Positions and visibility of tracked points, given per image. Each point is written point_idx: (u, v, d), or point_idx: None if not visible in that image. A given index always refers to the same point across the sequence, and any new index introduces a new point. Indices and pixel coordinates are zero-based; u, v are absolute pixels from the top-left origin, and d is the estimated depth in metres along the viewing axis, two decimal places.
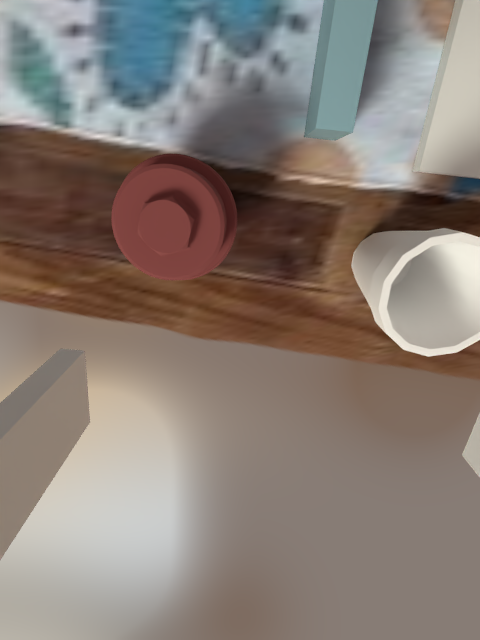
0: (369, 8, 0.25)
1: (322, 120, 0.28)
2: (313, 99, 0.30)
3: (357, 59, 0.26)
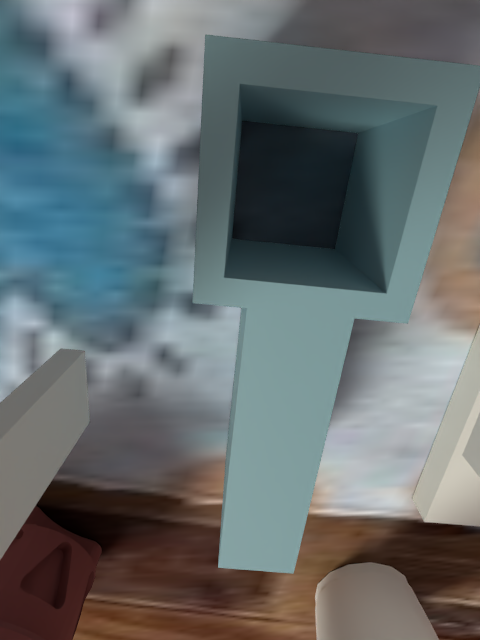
0: (316, 409, 0.11)
1: (230, 558, 0.14)
2: None
3: (296, 482, 0.12)
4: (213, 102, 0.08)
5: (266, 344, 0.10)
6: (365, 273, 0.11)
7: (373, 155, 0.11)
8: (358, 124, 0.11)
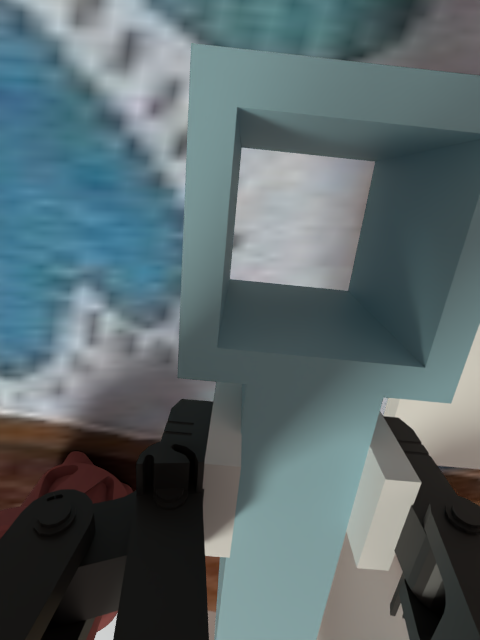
0: (334, 502, 0.09)
1: None
2: None
3: (307, 585, 0.10)
4: (202, 130, 0.06)
5: (271, 427, 0.08)
6: (391, 332, 0.09)
7: (398, 189, 0.10)
8: (379, 153, 0.10)
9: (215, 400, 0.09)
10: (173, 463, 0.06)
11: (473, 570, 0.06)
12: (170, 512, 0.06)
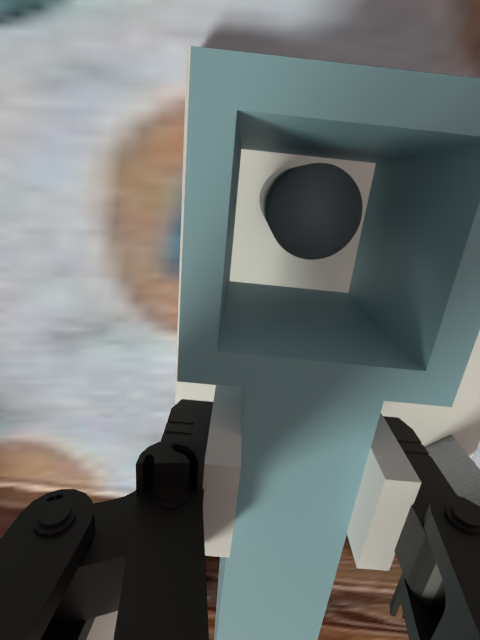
0: (334, 506, 0.09)
1: None
2: None
3: (307, 589, 0.10)
4: (202, 133, 0.06)
5: (271, 430, 0.08)
6: (392, 334, 0.09)
7: (399, 191, 0.10)
8: (380, 155, 0.10)
9: (215, 400, 0.09)
10: (173, 463, 0.06)
11: (473, 570, 0.06)
12: (170, 512, 0.06)
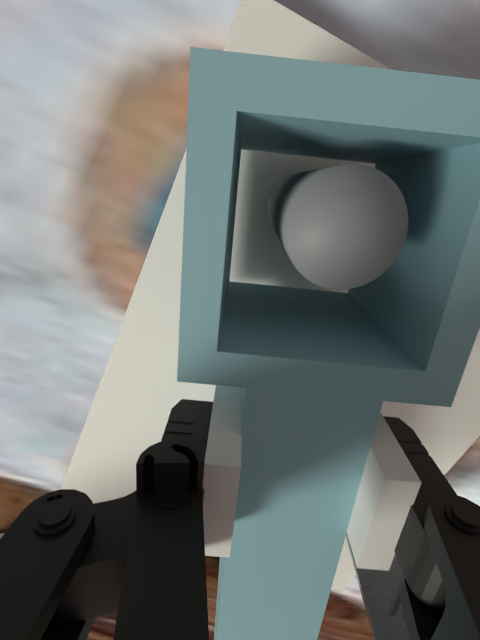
0: (333, 506, 0.09)
1: None
2: None
3: (306, 588, 0.10)
4: (201, 134, 0.06)
5: (270, 430, 0.08)
6: (391, 335, 0.09)
7: None
8: (379, 156, 0.10)
9: (215, 400, 0.09)
10: (173, 463, 0.06)
11: (473, 570, 0.06)
12: (170, 512, 0.06)
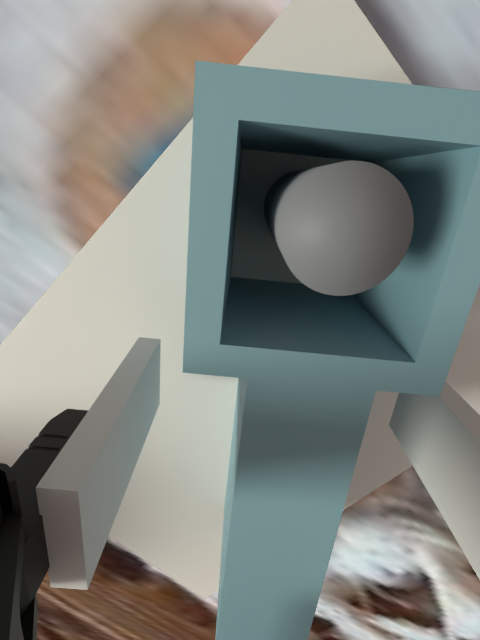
0: (330, 489, 0.09)
1: None
2: None
3: (304, 567, 0.10)
4: (206, 141, 0.06)
5: (271, 418, 0.09)
6: (385, 328, 0.10)
7: None
8: (375, 156, 0.10)
9: (89, 411, 0.08)
10: None
11: None
12: None
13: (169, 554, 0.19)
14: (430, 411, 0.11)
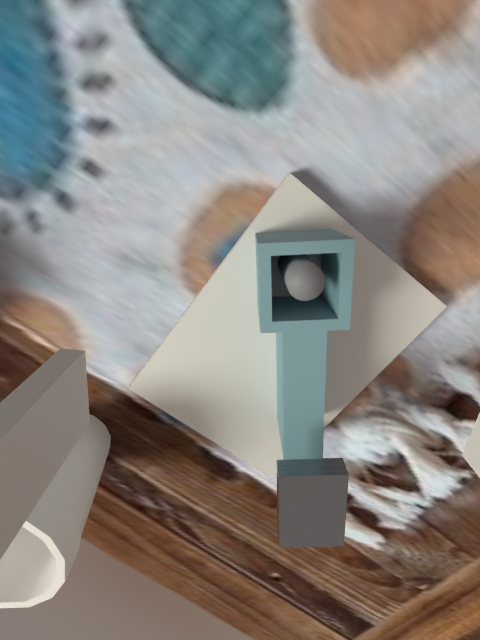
0: (318, 372, 0.25)
1: (289, 456, 0.27)
2: (279, 408, 0.30)
3: (315, 409, 0.26)
4: (262, 262, 0.22)
5: (292, 346, 0.24)
6: (331, 309, 0.25)
7: (328, 256, 0.26)
8: None
9: None
10: None
11: None
12: None
13: (250, 451, 0.35)
14: None
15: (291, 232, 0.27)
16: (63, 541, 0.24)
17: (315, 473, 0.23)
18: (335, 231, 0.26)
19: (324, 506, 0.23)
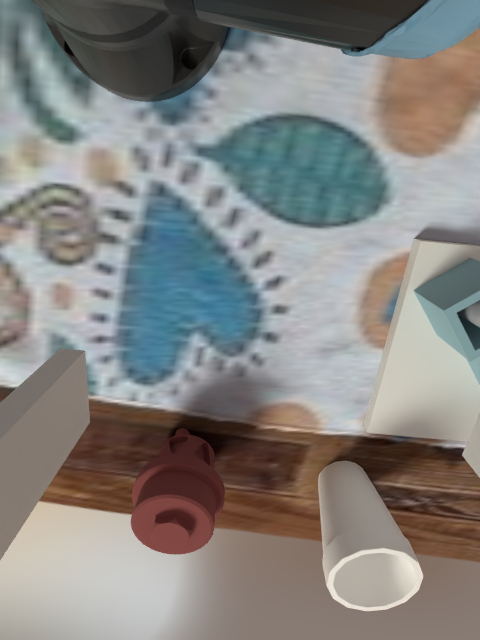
0: None
1: None
2: None
3: None
4: (452, 319, 0.31)
5: None
6: None
7: None
8: None
9: None
10: None
11: None
12: None
13: None
14: None
15: (442, 277, 0.35)
16: (410, 552, 0.35)
17: None
18: (477, 261, 0.34)
19: None
